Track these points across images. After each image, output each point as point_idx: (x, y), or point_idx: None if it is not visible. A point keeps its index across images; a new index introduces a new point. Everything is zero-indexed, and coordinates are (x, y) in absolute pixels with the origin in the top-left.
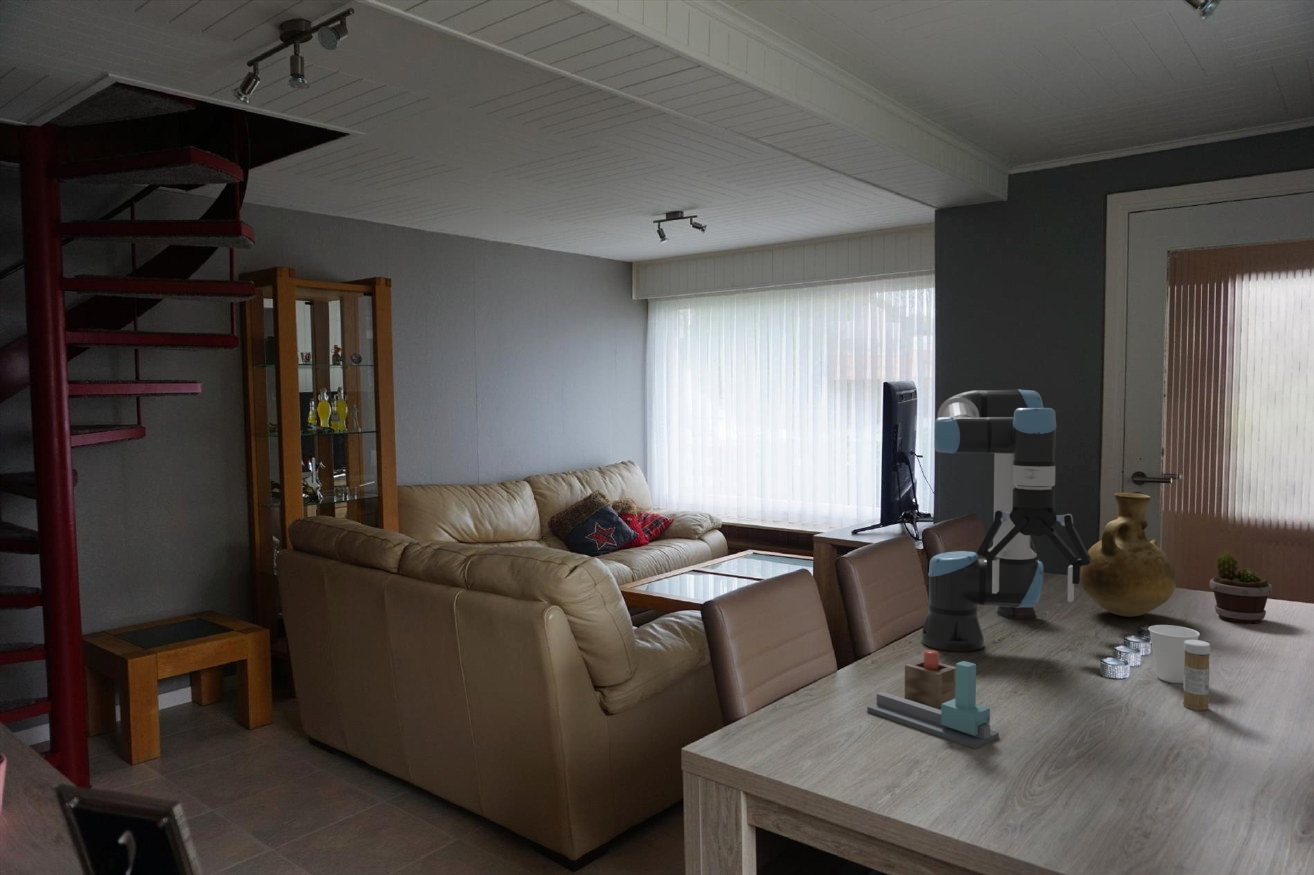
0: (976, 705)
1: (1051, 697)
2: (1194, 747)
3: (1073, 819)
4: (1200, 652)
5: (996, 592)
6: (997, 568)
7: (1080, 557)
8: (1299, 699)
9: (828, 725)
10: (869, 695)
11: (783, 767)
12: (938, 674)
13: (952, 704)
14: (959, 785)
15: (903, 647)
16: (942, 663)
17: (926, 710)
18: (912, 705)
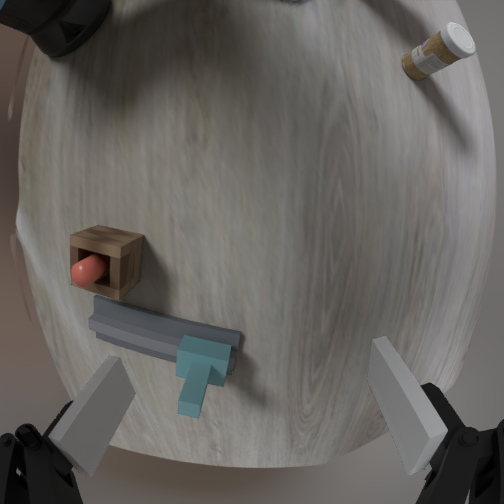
0: (210, 361)
1: (249, 124)
2: (434, 217)
3: (338, 426)
4: (465, 57)
5: (132, 390)
6: (93, 439)
7: (470, 488)
8: (460, 14)
9: None
10: (70, 285)
11: (143, 445)
12: (119, 299)
13: (186, 371)
14: (252, 429)
15: (32, 84)
16: (96, 241)
17: (154, 349)
18: (135, 344)
